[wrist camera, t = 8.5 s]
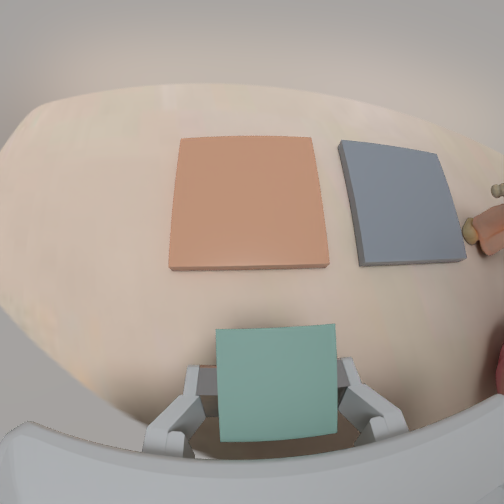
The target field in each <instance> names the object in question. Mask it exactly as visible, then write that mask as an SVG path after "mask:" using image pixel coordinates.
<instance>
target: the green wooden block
mask: <svg viewBox="0 0 504 504" xmlns="http://www.w3.org/2000/svg"><path fill="white" fill-rule="evenodd" d="M216 359H217V387H218V410H219V428H220V442H256V441H274V440H287V439H297V438H306V437H313V436H320V435H327V434H333V433H337V352H336V331H335V324H326V325H313V326H298V327H280V328H256V329H216Z"/></svg>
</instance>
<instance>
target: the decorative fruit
mask: <svg viewBox="0 0 504 504" xmlns="http://www.w3.org/2000/svg"><path fill="white" fill-rule="evenodd" d="M496 386H497V392H498V394H502V395H504V343H503V346H502V348H501V351H500V357H499V361H498V366H497V369H496Z"/></svg>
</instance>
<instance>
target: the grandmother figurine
mask: <svg viewBox="0 0 504 504" xmlns="http://www.w3.org/2000/svg"><path fill="white" fill-rule="evenodd" d="M491 193H492V195H493V196H494V197H495V198H499V197H501V196H503V197H504V183H502V184H501V185H493V186H492V188H491ZM463 236H464V238H465V240H466V241H467V242H468V243H469V244H471V245H474V244H475V243H476V242H477V240H480V247H481V250H482V251H483V252H484V253H485V254H486V255H489V256H491V255H493V254H495V253H496V252H498V251H500V250H501V249H502V248H504V204H501V205H498V206H494V207H491V208H489V209H488V210H486V211H485V212H483V213H481V214H480V215H478V216H476V217H474V218H468V219H467V220H466V222H465V224H464V226H463Z"/></svg>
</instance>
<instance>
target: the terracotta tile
mask: <svg viewBox="0 0 504 504" xmlns="http://www.w3.org/2000/svg"><path fill="white" fill-rule="evenodd" d="M329 264H330V262H329V252H328V243H327V235H326V227H325V219H324V212H323V205H322V198H321V191H320V185H319V178H318V172H317V166H316V161H315V155H314V150H313V144H312V139H311V138H310V137H288V136H221V137H200V138H184V139H181V141H180V148H179V156H178V163H177V171H176V180H175V189H174V198H173V209H172V220H171V233H170V248H169V266H168V267H169V268H170V269H171V270H172V271H188V270H252V269H293V268H325V267H327V266H328V265H329Z"/></svg>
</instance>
